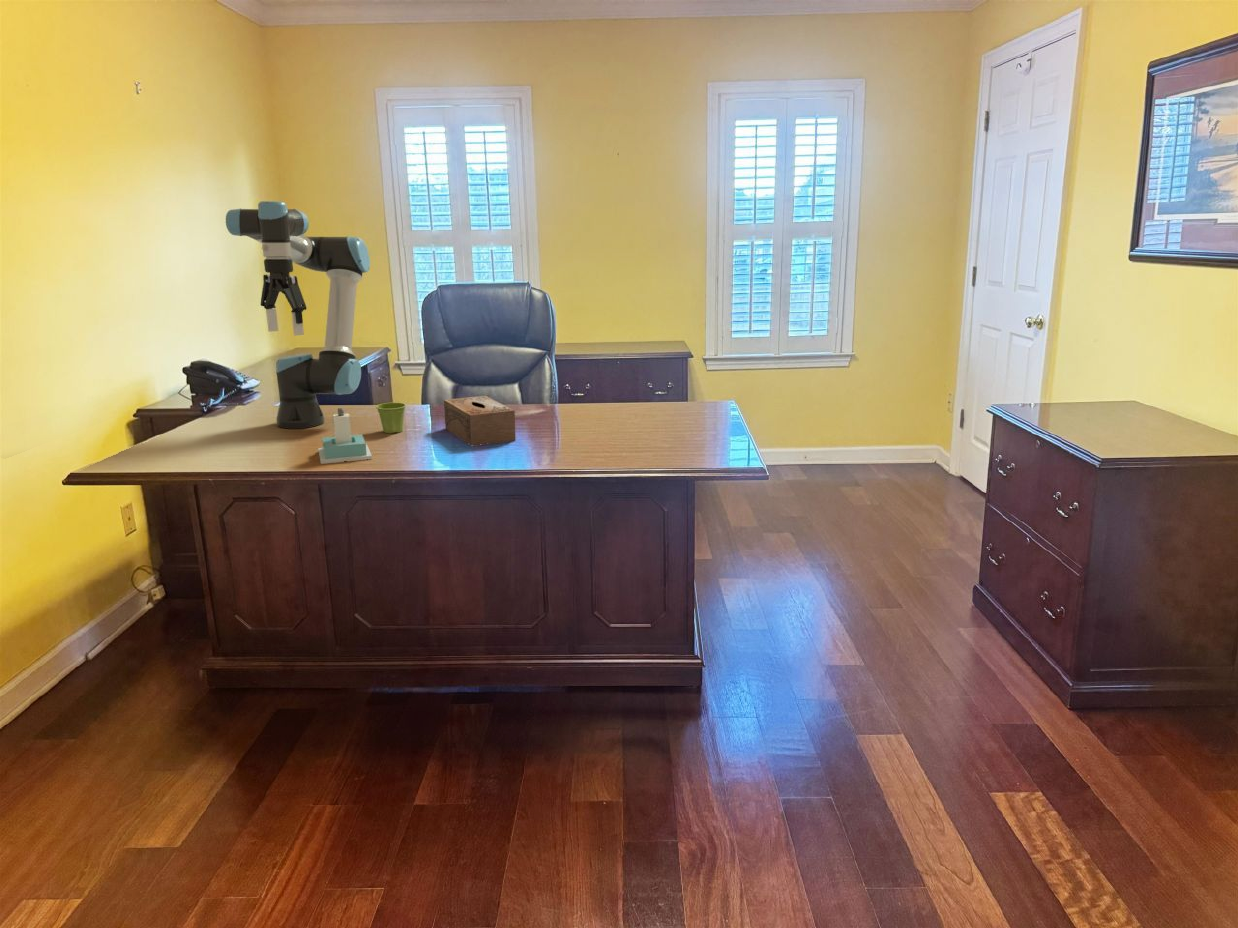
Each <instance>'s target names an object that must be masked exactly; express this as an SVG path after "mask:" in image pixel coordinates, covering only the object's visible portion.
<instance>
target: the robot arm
mask: <svg viewBox="0 0 1238 928" xmlns="http://www.w3.org/2000/svg"><path fill="white" fill-rule="evenodd" d="M309 223H310V222H309V218H308V216H307V215H306V213H304V212H303V211H302V210H299V209H296V208H288V207H287V204H286V203H285V202H284V201H274V200H273V201H269V200H266V201H265V200H264V201H259V202H258V204H257V208H253V209H252V208H234V209H230V210H228V211H227V213H226V214H225V226H226V229H227V231H228V233H230V234H231V235H233V236H238V237H242V236H243V237H249V238H251V239H253V240H254V241H256V242H258V243H260V244H261V245H262V246H261V249H262V254H263V257H264V260H263V265H264V271H265V273H268V274H263V285H262V290H261V291H262V292H261V298H260V306H261V307H264V310H265V314H266V321H267V330H268V332H270V333H271V332H278V331H279V323H278V317H277V309H276V308H277V307H276V305H275V304H276V302H277V300H278V298H279V293H281V294H283V295H284V296H285V298H286V301H287V303H289V306H290V308H291V311H290V312H291V319H292V321H291V322H292V329H293V336H294V337H295V336H304V335H305V332H304V331H305V330H304V323H303V322H304V321H303V320H304V319H303V312H304V311H306V310H307V305H306V301H305V300H304V296H303V294H302V291H301V289H300V286H299V282H298V277H297V276H296V275H290V273H292V272H293V271H294V266H293V264H295V265H298V266H300V267H302V268H305V269H308V270H311V271H315V272H321V273H323V272H324V273H325V275H326V276H327V277H328V279H330V282H329V292H328V302H327V303H328V304H327V312H326V313H327V314H326V315H327V316H326V326H325V327H326V329H325V337H324V338H325V340H324V348H322V349H321V350H319V352H318V353H319V354H318V358H314V356H313V354H312V353H300V354H293V355H289V356H284V357H281V358H279V359H277V360H276V363H275V368H276V369H275V374H276V378H277V379H276V381H277V387H278V394H279V395H278V396H279V406H278V410H277V415H276V421H275V422H276V426H277V427H279V428H282V429H306V428H311V427H317V426H320V425H323V424H324V423H325V415H324V413H323V410H322V409H321V406H320V404H319V402H318V399H317V395H320V394H321V395H339V396H341V395H350V394H352V393H353V394H354V392H355V391H356V390H357V389H358V387H359V385H360V383H361V378H362V369H361V368H362V367H361V366H362V365H361V363H360V361H359V360H358V359H356V358H357V357H356V354H355V353H354V352H353V350H352V347H353V346H352V345H353V339H354V338H353V337H354V336H353V335H354V324H355V311H356V310H355V309H356V297H357V286H358V283H359V282H361V281H362V279H363V274H366V273H368V272H369V270H370V267H371V259H370V254H369V251H368V247H367V245H366V243H365V242H364V240H363V239H362V238H361V237H358V236H357V237H356V236H350V235H348V236H306V235H304V234H305V233H306V232H308V230H309V226H310V224H309Z"/></svg>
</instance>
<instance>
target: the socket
mask: <svg viewBox="0 0 1238 928" xmlns="http://www.w3.org/2000/svg"><path fill="white" fill-rule="evenodd" d="M351 437H352V443H340V444H336V443H335V436H326V437H321V441H322V447H320V448H317V450H318V455H319V461H320V464H321V465H323V464H335V463H345V462H344V461H347V462H355V461H364V460H367V459H368V460H373V456H372V453H371V451H370V448H369V446H368V444H367V442H366V441H365V437H364V435H363V434H351Z"/></svg>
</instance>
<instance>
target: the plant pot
mask: <svg viewBox="0 0 1238 928" xmlns="http://www.w3.org/2000/svg"><path fill="white" fill-rule="evenodd" d="M406 406H407V404H406V403H403V402H384V403H380V404H379V403H378V405H376V407H375V408H376V409H377V412H378V415H379V419H380V422H381V426H382V431H383V432H384V433H386V434H394V433H401V432H402V431H404V429H403V428H404V415H405V414H404V413H405V409H406Z"/></svg>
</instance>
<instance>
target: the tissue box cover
mask: <svg viewBox="0 0 1238 928" xmlns="http://www.w3.org/2000/svg"><path fill="white" fill-rule="evenodd" d="M443 408H444V409H443V411H444V424H445V425H444V427H445V429H446V430H447V431H448V432H450V433H451V434H453V435H455V436H456V437H457V438H459V439H460V440H461V441H463V442H464V443H466V444H468V443H469V444H470V445H469V444H468V445H469V446H471V445H478V446H481V445H480V444H486V445H488V444H487V443H493V444H500V443H508V442H507V441H509V442H514V441H513V440H516V439H517V438H516V418H515V417H516V416H515V415H516V414H515V412H516V410H515V409H513V408H511V407H509V406H507V405H505V404H503V403H501V402H499V401H496V400H495V399H493V398H491V397H489V396H487V395H480V396H470V397H469V396H468V397H461V398H449V399H443Z"/></svg>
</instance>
